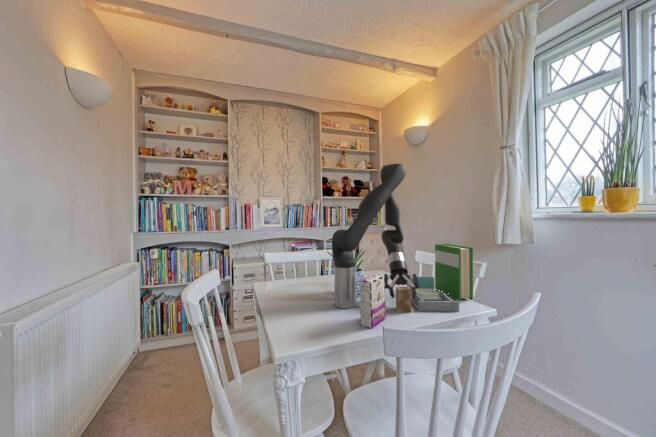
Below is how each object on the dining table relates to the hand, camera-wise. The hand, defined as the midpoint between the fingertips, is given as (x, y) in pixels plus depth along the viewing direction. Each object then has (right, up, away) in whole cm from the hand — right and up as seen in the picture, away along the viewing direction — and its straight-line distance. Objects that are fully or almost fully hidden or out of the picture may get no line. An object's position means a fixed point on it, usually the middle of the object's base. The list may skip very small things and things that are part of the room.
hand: (403, 296), depth 109 cm
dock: (+14, -5, +7) cm, 17 cm away
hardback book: (+30, -5, +20) cm, 37 cm away
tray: (+15, -4, +15) cm, 22 cm away
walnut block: (0, -5, 0) cm, 5 cm away
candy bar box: (-15, -6, -12) cm, 20 cm away
